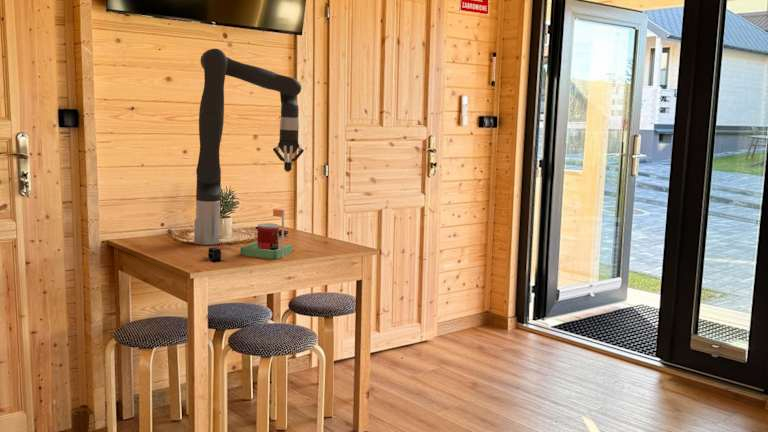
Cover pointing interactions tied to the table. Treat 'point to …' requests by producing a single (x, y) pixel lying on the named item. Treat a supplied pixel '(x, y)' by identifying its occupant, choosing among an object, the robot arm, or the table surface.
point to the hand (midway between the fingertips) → (287, 171)
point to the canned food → (268, 236)
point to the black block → (214, 255)
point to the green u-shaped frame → (264, 253)
